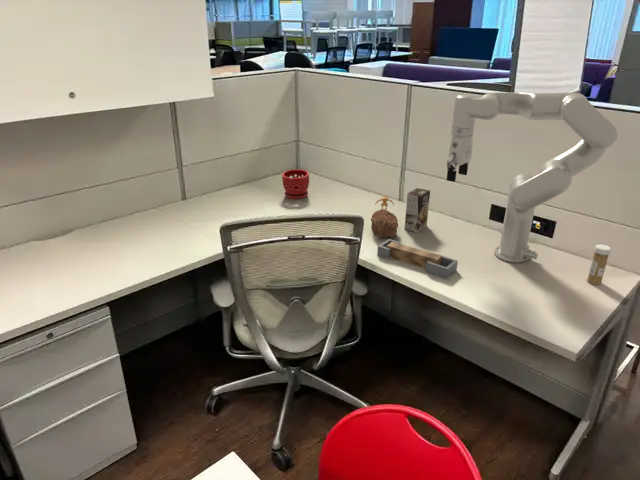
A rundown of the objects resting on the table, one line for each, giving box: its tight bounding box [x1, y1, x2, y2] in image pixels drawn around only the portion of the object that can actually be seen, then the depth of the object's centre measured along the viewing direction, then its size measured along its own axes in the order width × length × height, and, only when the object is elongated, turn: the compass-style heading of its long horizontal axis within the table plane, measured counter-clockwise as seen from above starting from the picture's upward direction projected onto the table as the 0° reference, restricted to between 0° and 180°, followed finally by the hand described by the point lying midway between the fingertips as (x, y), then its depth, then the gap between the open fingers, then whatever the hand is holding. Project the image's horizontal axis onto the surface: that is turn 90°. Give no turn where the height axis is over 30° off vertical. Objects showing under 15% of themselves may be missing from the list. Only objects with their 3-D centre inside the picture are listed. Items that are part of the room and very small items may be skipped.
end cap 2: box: [425, 254, 459, 280], centre depth 174 cm, size 8×8×4 cm
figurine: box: [374, 194, 395, 210], centre depth 214 cm, size 8×6×12 cm
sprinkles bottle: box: [586, 243, 612, 286], centre depth 165 cm, size 5×5×14 cm
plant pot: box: [281, 169, 310, 200], centre depth 241 cm, size 13×13×12 cm
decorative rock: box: [370, 208, 399, 238], centre depth 202 cm, size 13×11×10 cm
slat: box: [387, 242, 443, 269], centre depth 181 cm, size 20×4×5 cm, turn 55°
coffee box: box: [404, 187, 431, 233], centre depth 206 cm, size 9×6×16 cm
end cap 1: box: [376, 238, 401, 260], centre depth 187 cm, size 5×8×4 cm, turn 141°
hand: (456, 177), depth 181 cm, fingers open, 9 cm apart
